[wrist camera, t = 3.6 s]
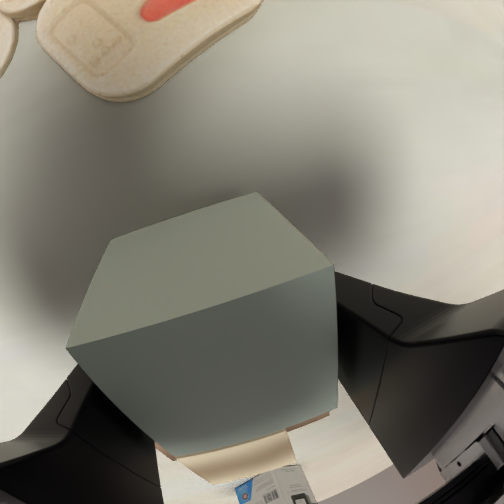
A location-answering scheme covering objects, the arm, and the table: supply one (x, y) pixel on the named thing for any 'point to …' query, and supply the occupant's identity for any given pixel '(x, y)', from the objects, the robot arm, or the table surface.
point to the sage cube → (212, 326)
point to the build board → (242, 456)
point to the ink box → (277, 488)
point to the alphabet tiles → (122, 38)
